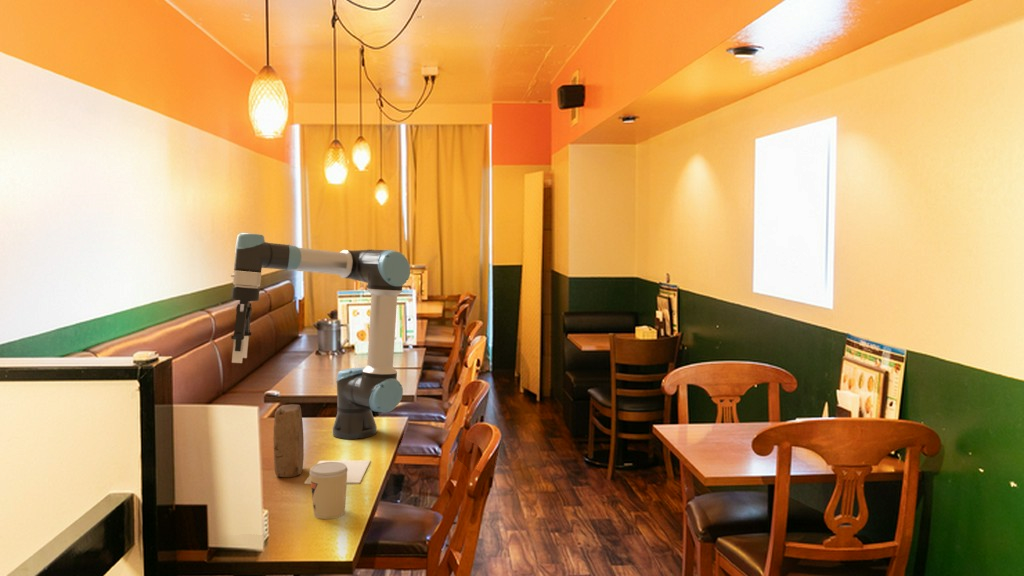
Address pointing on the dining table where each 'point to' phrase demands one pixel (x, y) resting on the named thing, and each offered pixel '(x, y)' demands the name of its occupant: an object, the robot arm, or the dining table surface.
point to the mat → (350, 470)
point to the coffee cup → (328, 489)
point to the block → (288, 441)
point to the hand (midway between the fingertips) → (239, 360)
